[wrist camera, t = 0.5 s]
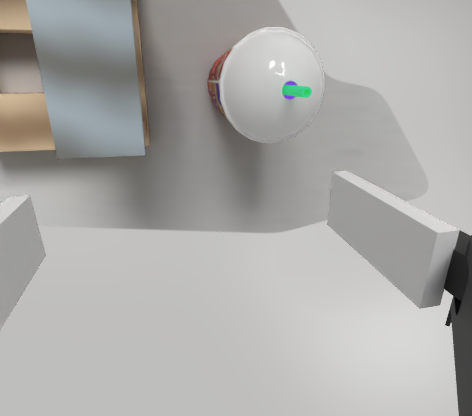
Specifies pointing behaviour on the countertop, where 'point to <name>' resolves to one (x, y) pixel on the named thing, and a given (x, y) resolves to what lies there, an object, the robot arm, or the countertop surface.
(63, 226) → the countertop surface
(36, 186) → the countertop surface
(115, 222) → the countertop surface
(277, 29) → the smoothie
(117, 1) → the socket board
